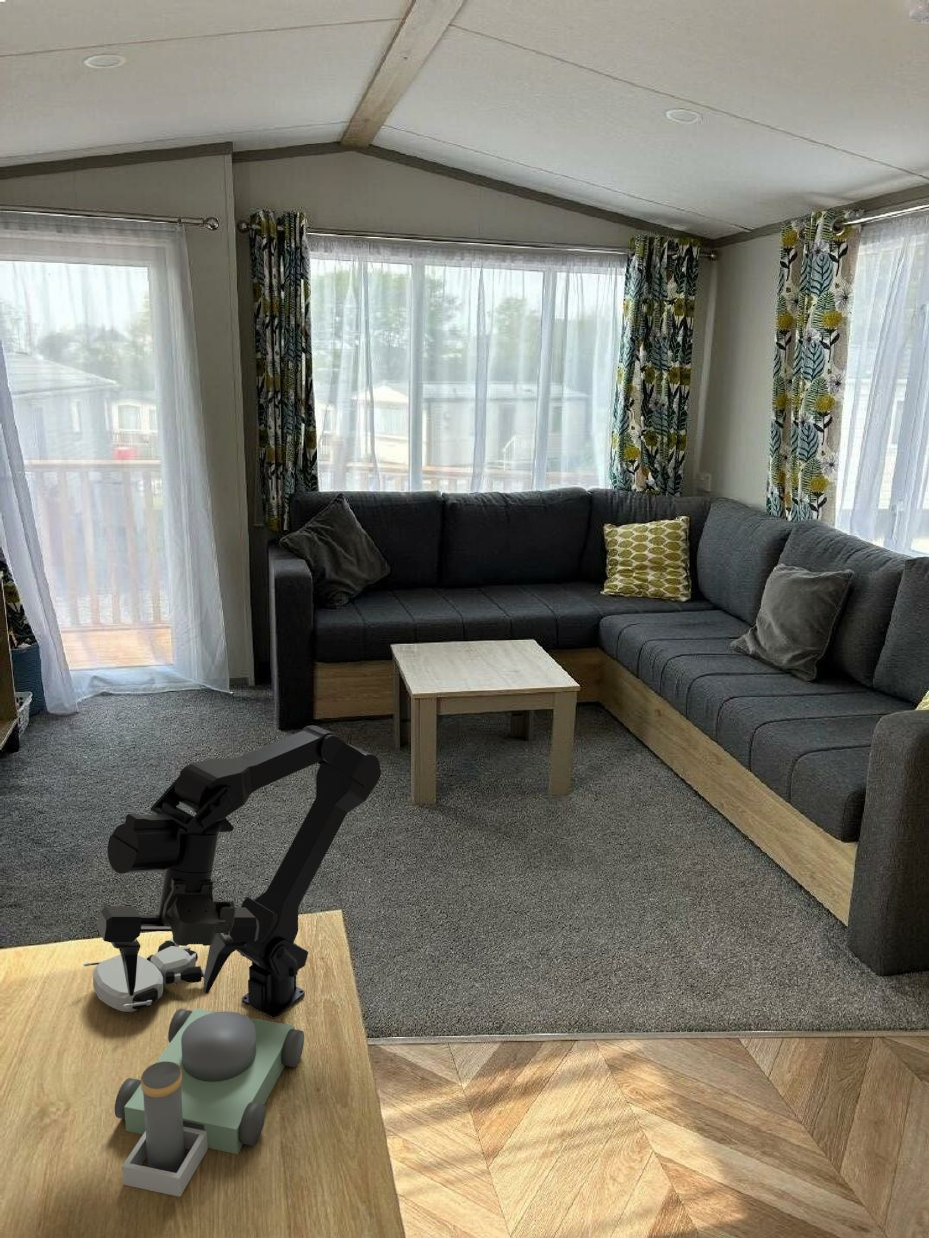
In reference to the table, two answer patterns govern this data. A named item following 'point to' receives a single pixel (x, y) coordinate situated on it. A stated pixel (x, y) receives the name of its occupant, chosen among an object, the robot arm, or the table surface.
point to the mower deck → (211, 1089)
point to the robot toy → (145, 976)
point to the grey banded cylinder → (163, 1116)
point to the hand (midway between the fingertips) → (168, 993)
